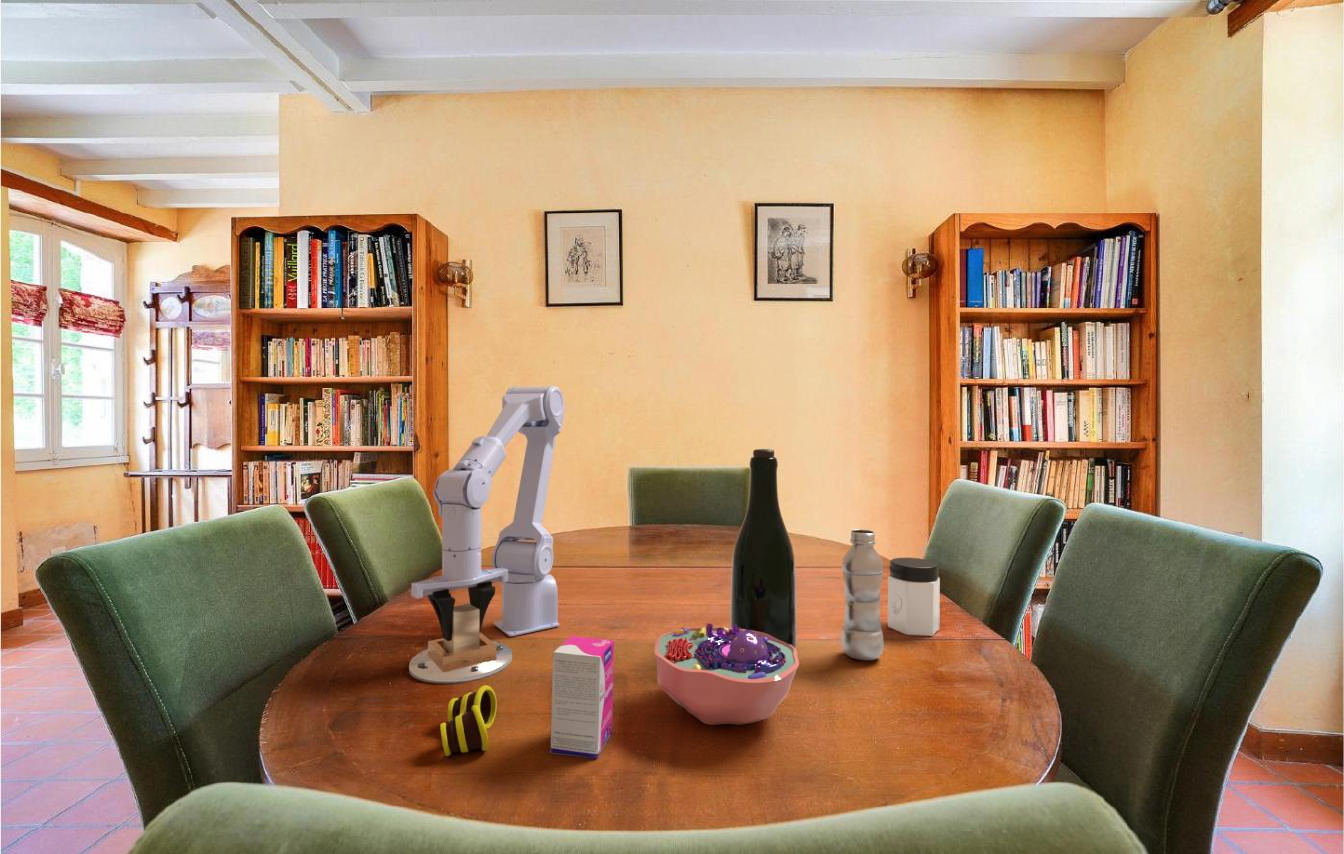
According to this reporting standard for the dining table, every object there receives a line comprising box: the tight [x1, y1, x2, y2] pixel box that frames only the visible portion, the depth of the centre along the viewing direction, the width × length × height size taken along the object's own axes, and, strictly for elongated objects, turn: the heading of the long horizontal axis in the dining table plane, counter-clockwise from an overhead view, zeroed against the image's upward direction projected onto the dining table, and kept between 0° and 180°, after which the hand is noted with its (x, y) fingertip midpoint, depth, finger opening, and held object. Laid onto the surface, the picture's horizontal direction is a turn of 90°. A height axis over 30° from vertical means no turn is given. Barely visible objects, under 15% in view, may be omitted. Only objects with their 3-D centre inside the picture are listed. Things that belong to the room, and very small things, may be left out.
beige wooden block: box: [444, 602, 479, 653], centre depth 94 cm, size 4×4×6 cm
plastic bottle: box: [840, 529, 885, 661], centre depth 96 cm, size 6×7×20 cm
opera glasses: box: [439, 685, 498, 757], centre depth 72 cm, size 10×5×5 cm, turn 10°
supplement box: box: [549, 635, 615, 759], centre depth 70 cm, size 6×6×12 cm
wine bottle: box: [729, 448, 797, 650], centre depth 97 cm, size 10×10×33 cm
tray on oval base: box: [408, 632, 513, 685], centre depth 94 cm, size 15×15×3 cm
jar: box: [887, 557, 941, 637], centre depth 110 cm, size 9×8×12 cm
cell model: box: [654, 623, 800, 726], centre depth 78 cm, size 17×20×11 cm
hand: (461, 635), depth 94 cm, fingers closed on beige wooden block, 4 cm apart
